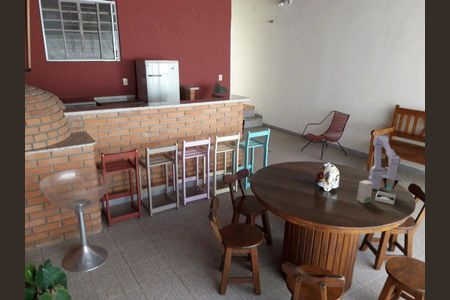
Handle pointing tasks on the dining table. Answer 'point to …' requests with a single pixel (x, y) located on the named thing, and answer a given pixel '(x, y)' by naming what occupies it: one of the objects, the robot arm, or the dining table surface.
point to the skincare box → (364, 191)
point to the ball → (389, 187)
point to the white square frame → (386, 196)
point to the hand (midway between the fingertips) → (389, 188)
